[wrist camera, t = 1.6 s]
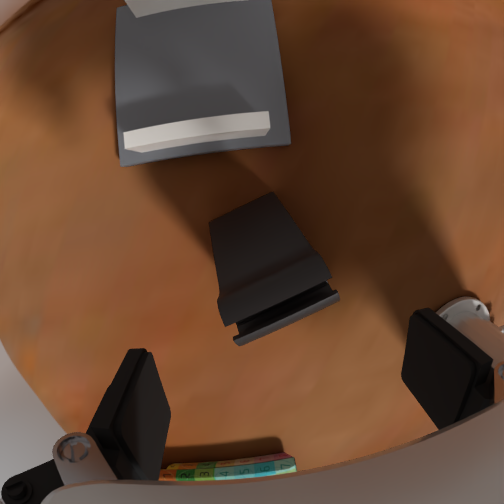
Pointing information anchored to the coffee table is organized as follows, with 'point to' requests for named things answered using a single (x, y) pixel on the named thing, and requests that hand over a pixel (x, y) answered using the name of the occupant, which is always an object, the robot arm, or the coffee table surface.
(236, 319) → the phone stand
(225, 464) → the puzzle game
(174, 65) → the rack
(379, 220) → the coffee table surface
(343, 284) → the coffee table surface
